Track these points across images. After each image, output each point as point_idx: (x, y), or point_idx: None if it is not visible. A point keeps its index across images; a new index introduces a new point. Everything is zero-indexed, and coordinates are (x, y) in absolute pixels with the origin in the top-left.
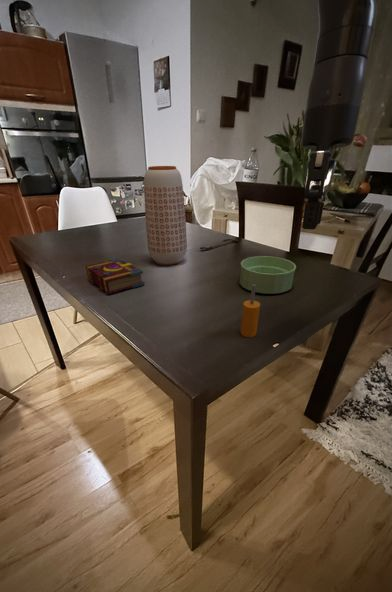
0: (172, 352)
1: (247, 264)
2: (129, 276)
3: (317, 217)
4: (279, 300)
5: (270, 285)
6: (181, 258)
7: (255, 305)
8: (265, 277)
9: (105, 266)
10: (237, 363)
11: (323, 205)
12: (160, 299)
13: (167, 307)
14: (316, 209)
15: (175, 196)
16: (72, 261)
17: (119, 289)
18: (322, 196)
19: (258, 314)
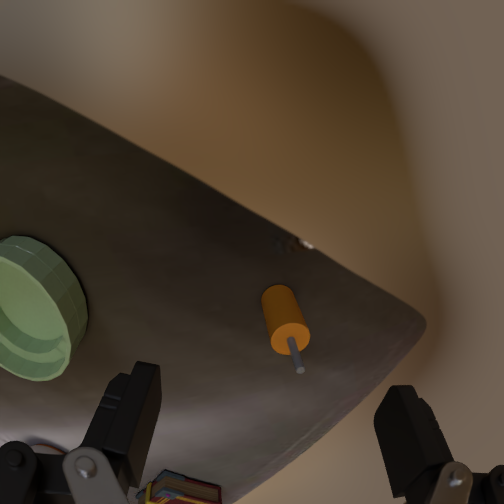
0: (356, 379)
1: (12, 358)
2: (184, 493)
3: (425, 417)
4: (94, 256)
5: (71, 296)
6: (47, 450)
7: (297, 331)
8: (70, 321)
9: None
10: (374, 294)
11: (133, 439)
12: (201, 444)
13: (225, 430)
14: (447, 446)
15: None
16: None
17: (204, 485)
18: (470, 481)
19: (292, 311)
